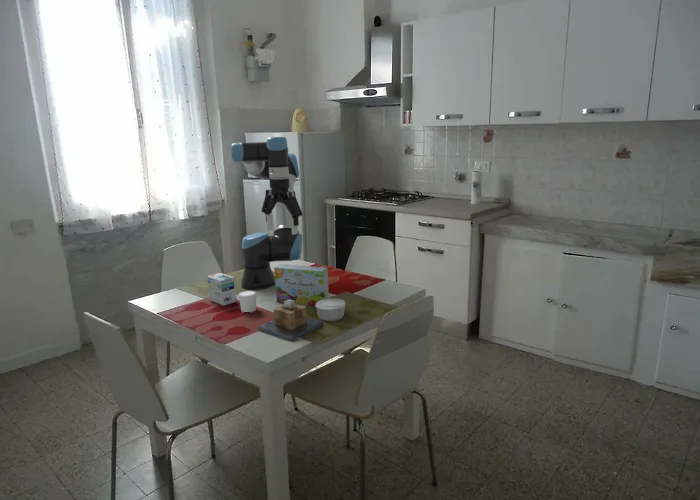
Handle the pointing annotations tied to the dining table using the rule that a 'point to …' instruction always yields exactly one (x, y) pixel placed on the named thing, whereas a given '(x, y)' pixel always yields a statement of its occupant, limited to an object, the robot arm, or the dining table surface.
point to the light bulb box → (222, 288)
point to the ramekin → (330, 309)
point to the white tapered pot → (247, 301)
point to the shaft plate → (287, 333)
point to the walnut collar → (290, 317)
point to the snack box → (301, 284)
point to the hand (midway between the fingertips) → (282, 232)
